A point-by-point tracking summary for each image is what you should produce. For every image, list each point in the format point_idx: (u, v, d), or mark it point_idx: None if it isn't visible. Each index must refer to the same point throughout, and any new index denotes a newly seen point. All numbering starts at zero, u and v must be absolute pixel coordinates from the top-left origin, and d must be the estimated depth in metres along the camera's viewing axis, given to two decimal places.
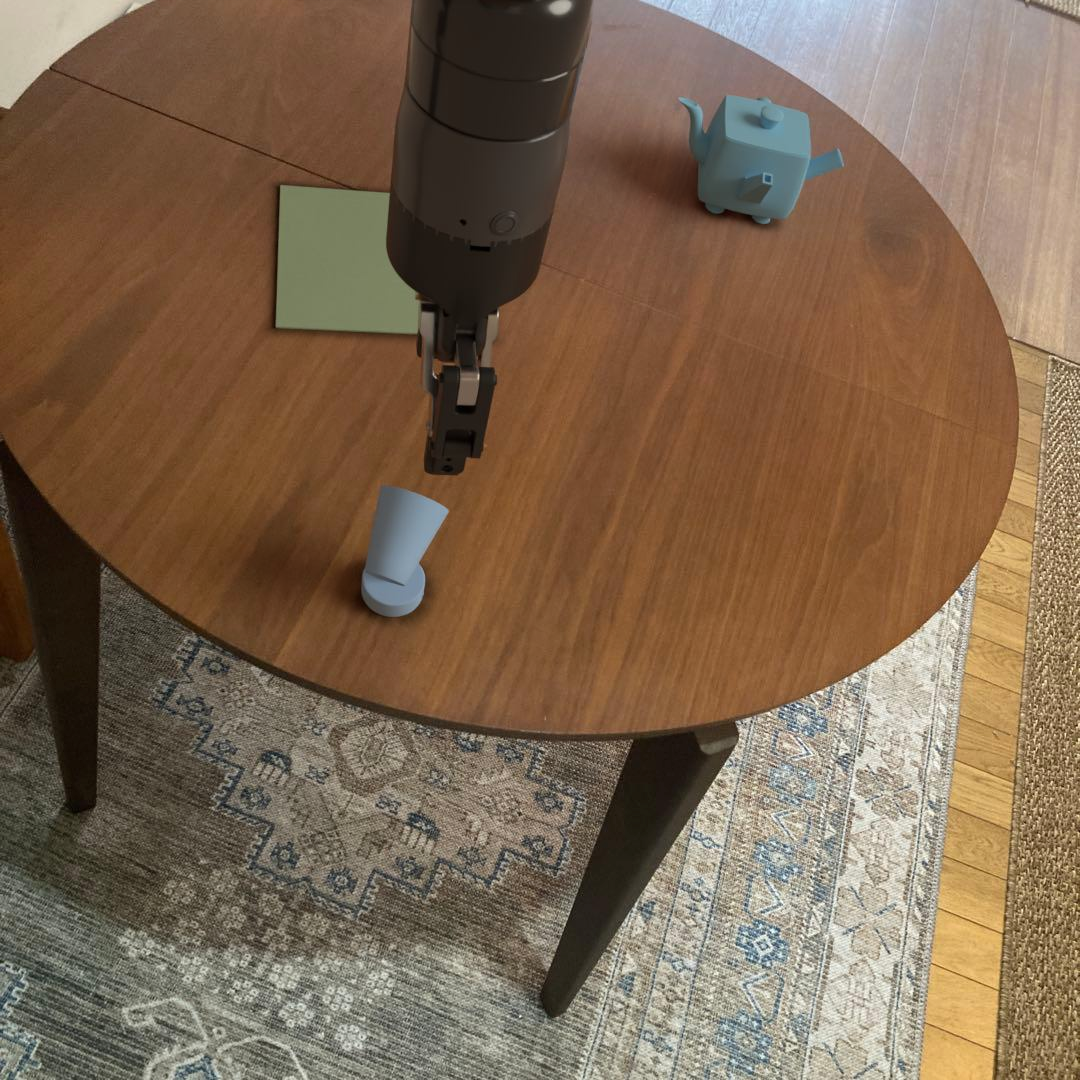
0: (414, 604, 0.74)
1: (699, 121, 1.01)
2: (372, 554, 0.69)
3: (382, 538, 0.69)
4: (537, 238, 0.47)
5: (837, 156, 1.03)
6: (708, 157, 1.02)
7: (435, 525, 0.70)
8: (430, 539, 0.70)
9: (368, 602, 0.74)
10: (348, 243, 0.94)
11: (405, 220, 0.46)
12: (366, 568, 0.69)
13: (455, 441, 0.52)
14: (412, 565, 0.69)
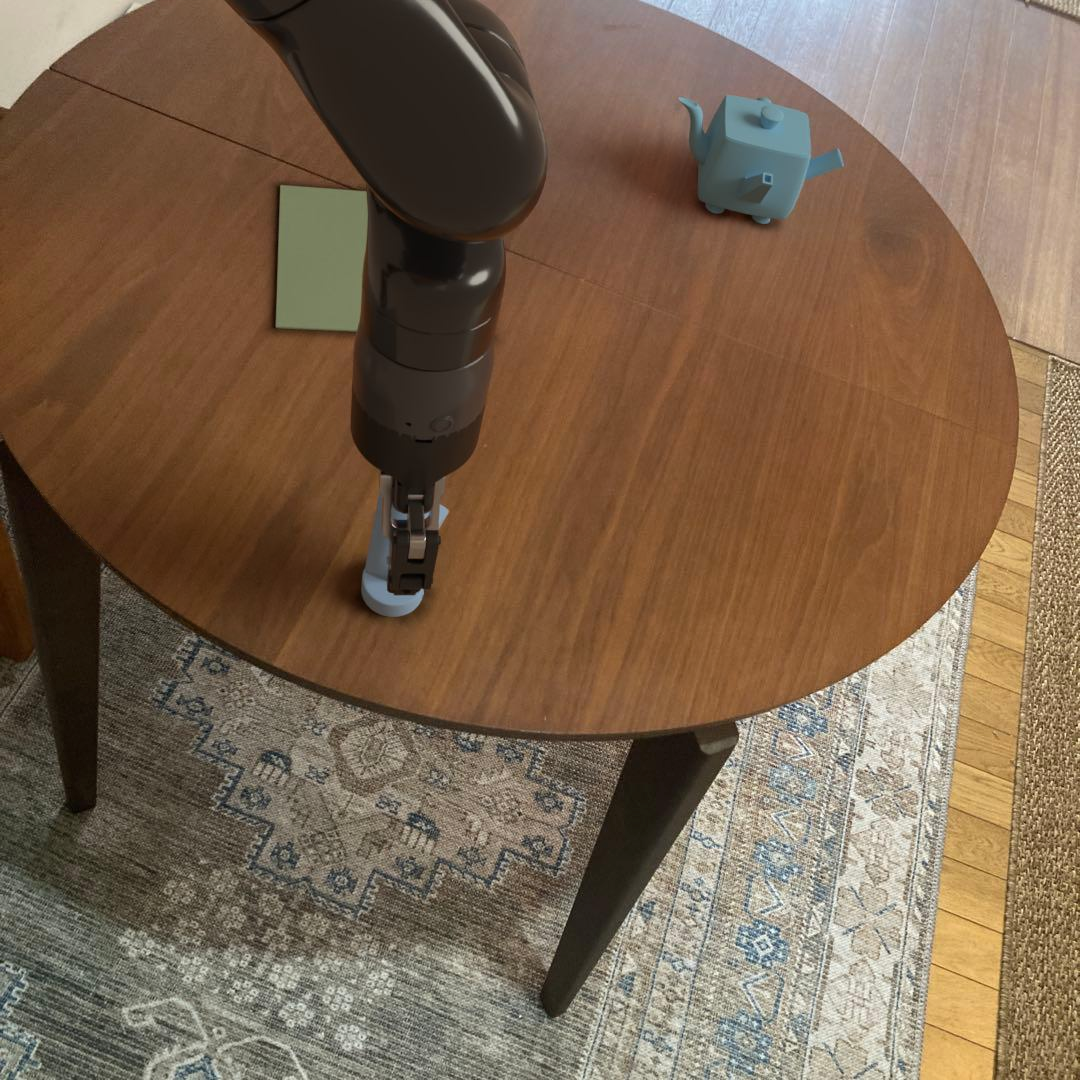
0: (414, 604, 0.74)
1: (699, 121, 1.01)
2: (372, 554, 0.69)
3: (382, 538, 0.69)
4: (471, 428, 0.57)
5: (837, 156, 1.03)
6: (708, 157, 1.02)
7: None
8: None
9: (368, 602, 0.74)
10: (348, 243, 0.94)
11: (363, 417, 0.56)
12: (366, 568, 0.69)
13: (409, 577, 0.63)
14: None
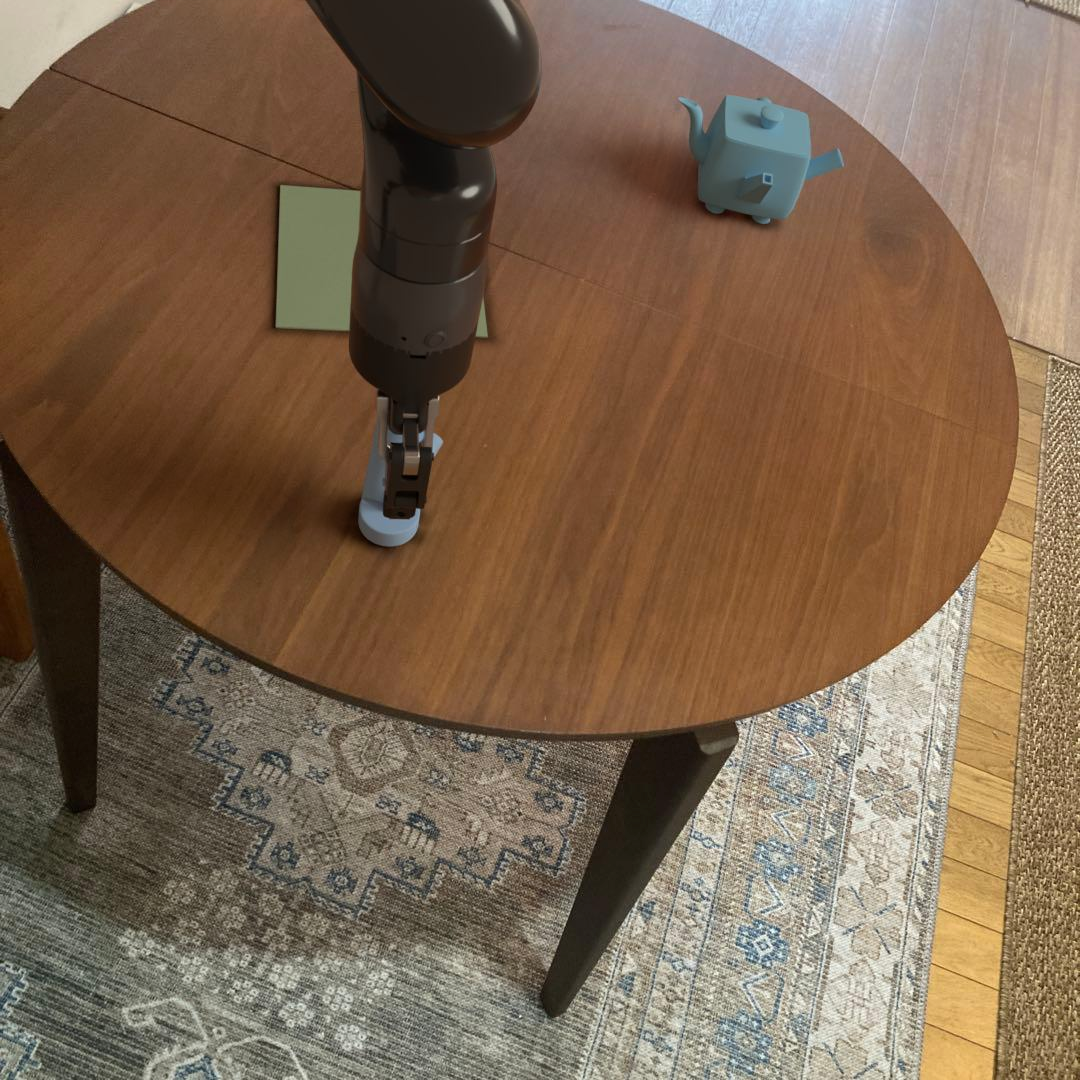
0: (409, 534, 0.77)
1: (699, 121, 1.01)
2: (369, 480, 0.72)
3: (379, 465, 0.71)
4: (464, 346, 0.60)
5: (837, 156, 1.03)
6: (708, 157, 1.02)
7: None
8: None
9: (364, 531, 0.77)
10: (348, 243, 0.94)
11: (361, 334, 0.59)
12: (363, 494, 0.72)
13: (403, 496, 0.66)
14: None
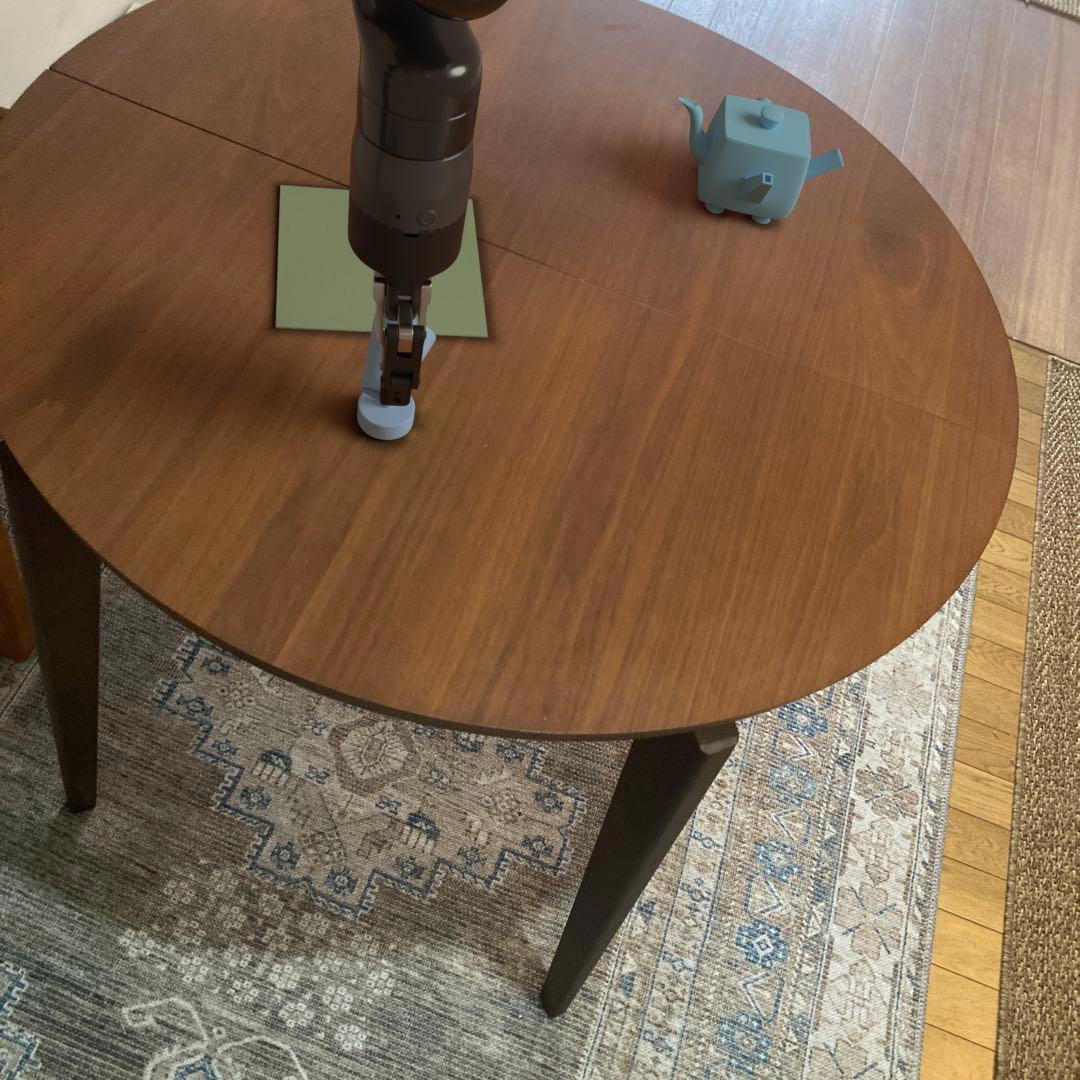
0: (405, 428, 0.82)
1: (699, 121, 1.01)
2: (367, 371, 0.77)
3: (376, 356, 0.77)
4: (453, 228, 0.66)
5: (837, 156, 1.03)
6: (708, 157, 1.02)
7: (423, 347, 0.78)
8: None
9: (363, 425, 0.82)
10: (348, 243, 0.94)
11: (359, 215, 0.65)
12: (361, 384, 0.77)
13: (398, 376, 0.71)
14: None
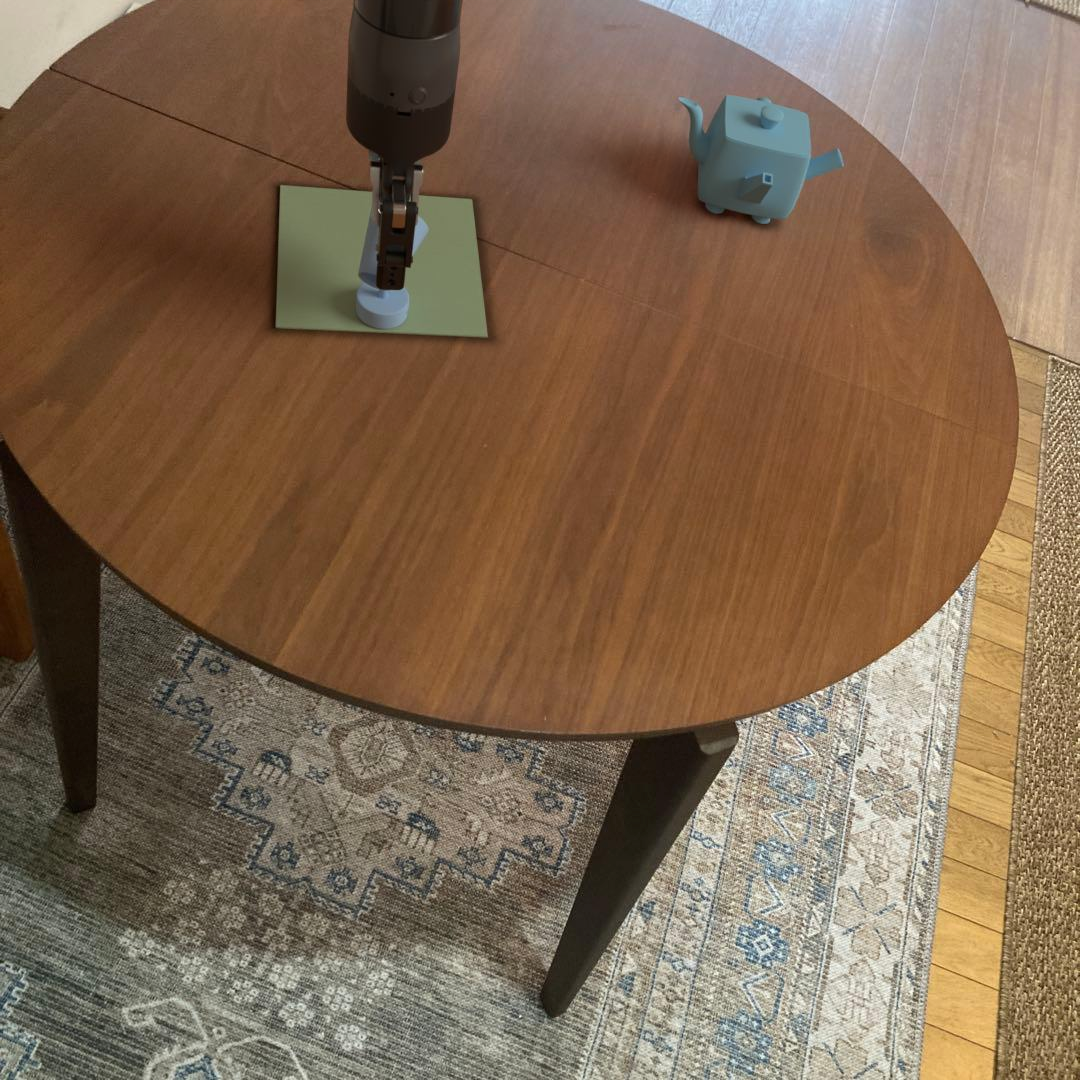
0: (400, 318, 0.89)
1: (699, 121, 1.01)
2: (364, 258, 0.83)
3: (372, 243, 0.83)
4: (442, 110, 0.72)
5: (837, 156, 1.03)
6: (708, 157, 1.02)
7: (417, 237, 0.84)
8: None
9: (361, 315, 0.88)
10: (348, 243, 0.94)
11: (356, 96, 0.71)
12: (359, 270, 0.84)
13: (393, 254, 0.77)
14: None
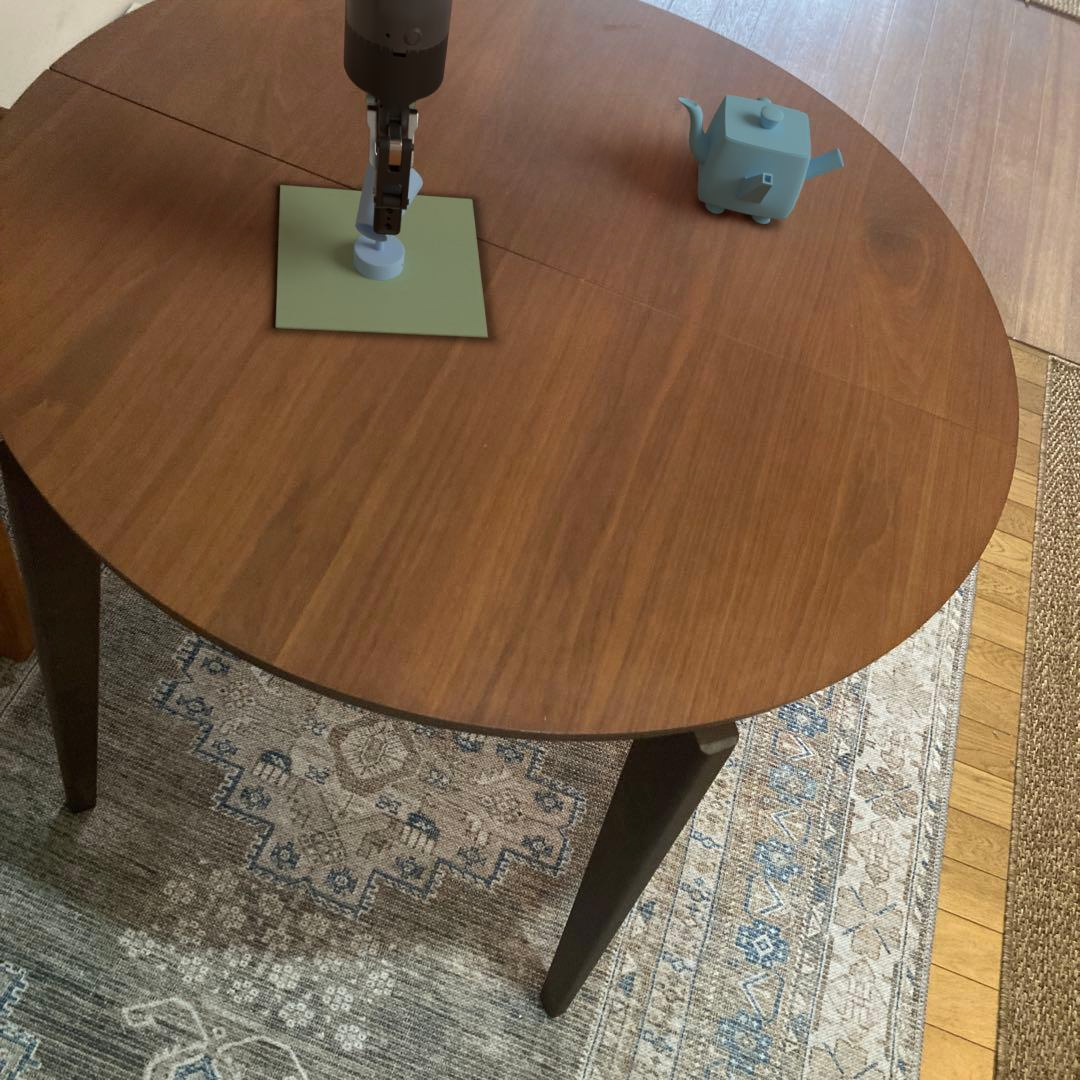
0: (396, 269, 0.92)
1: (699, 121, 1.01)
2: (361, 209, 0.87)
3: (369, 195, 0.86)
4: (436, 52, 0.75)
5: (837, 156, 1.03)
6: (708, 157, 1.02)
7: (411, 189, 0.87)
8: None
9: (358, 267, 0.92)
10: (348, 243, 0.94)
11: (353, 38, 0.74)
12: (356, 221, 0.87)
13: (390, 196, 0.80)
14: None
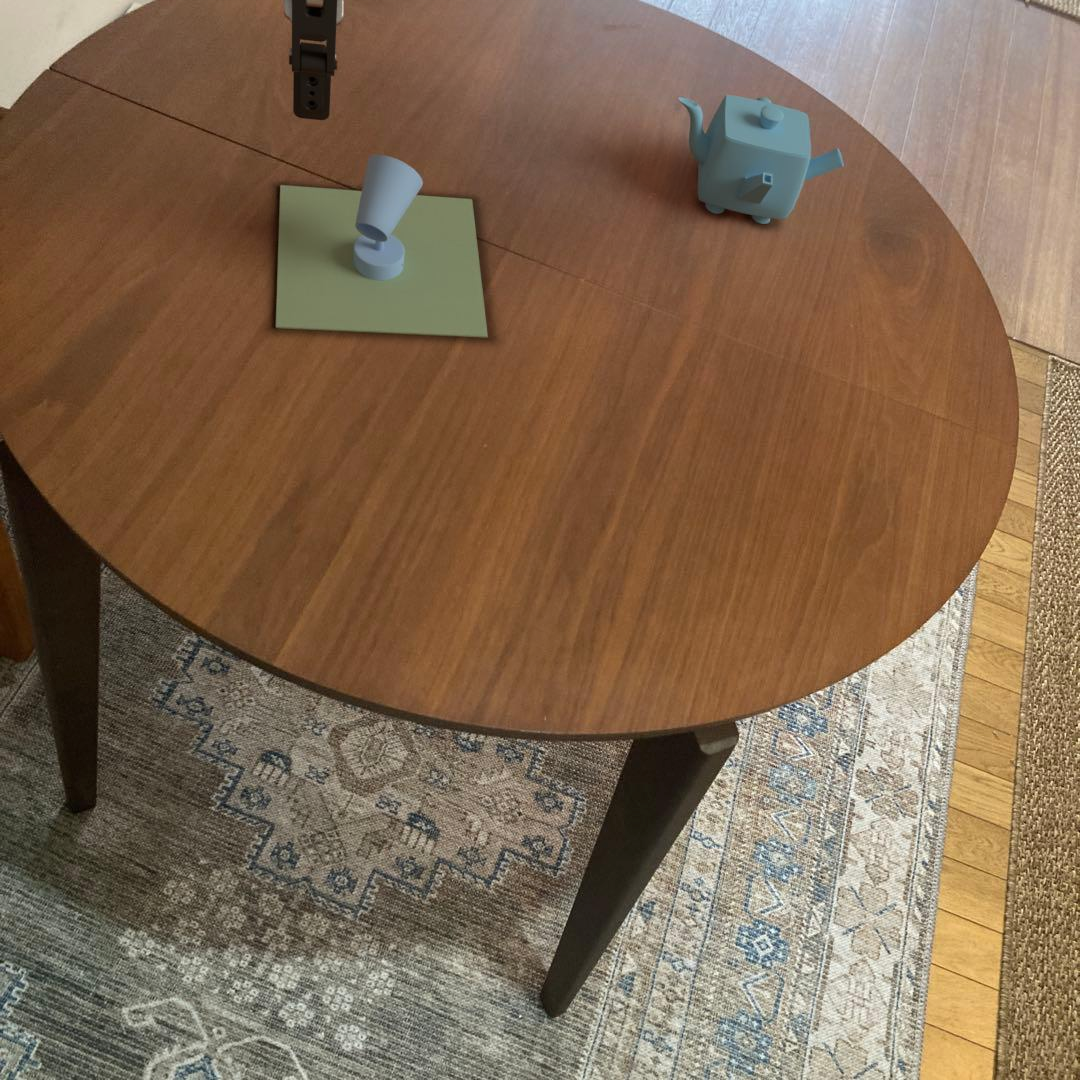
0: (396, 269, 0.92)
1: (699, 121, 1.01)
2: (361, 209, 0.87)
3: (369, 195, 0.86)
4: None
5: (837, 156, 1.03)
6: (708, 157, 1.02)
7: (411, 189, 0.87)
8: (407, 201, 0.88)
9: (358, 267, 0.92)
10: (348, 243, 0.94)
11: None
12: (356, 221, 0.87)
13: (311, 54, 0.59)
14: (393, 219, 0.87)
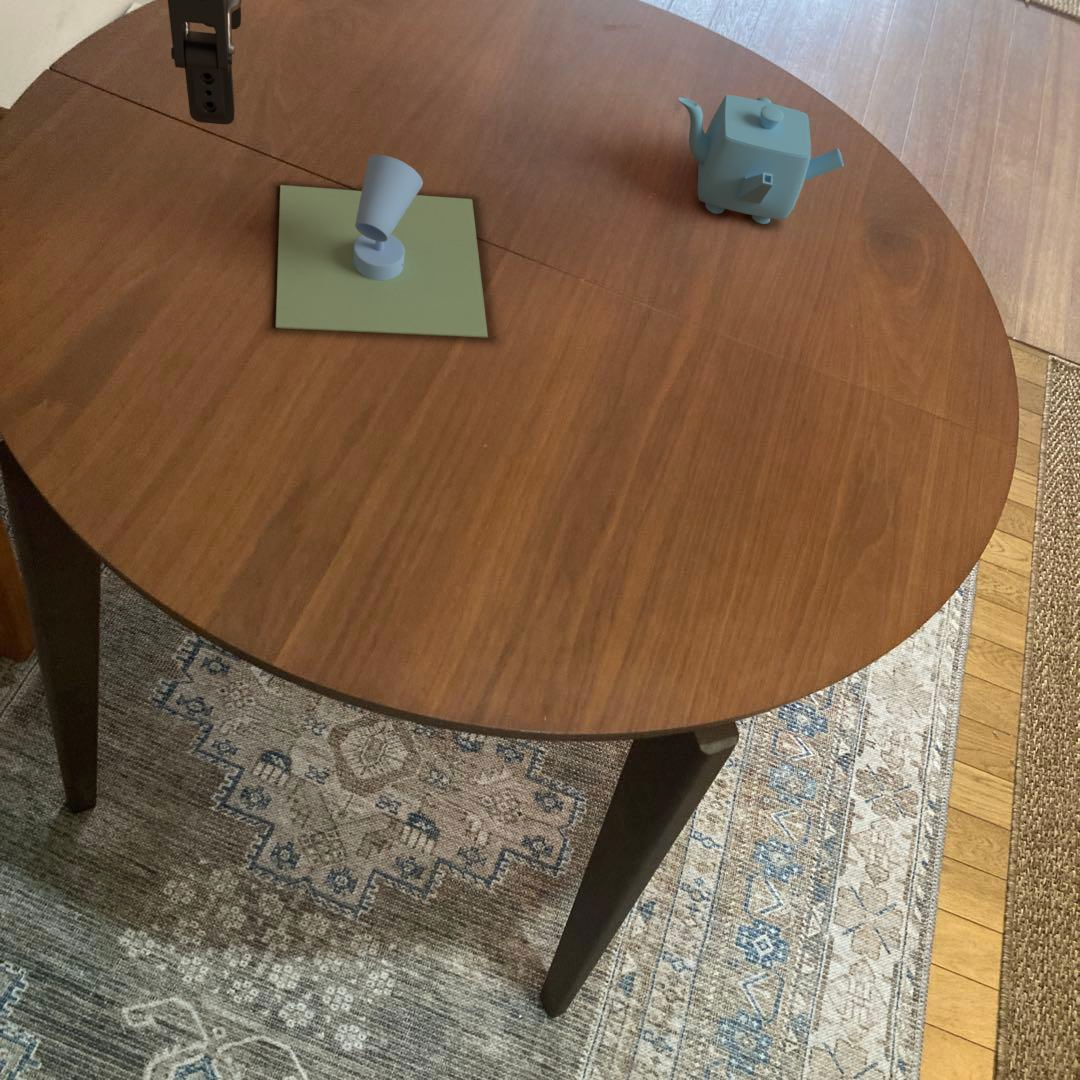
0: (396, 269, 0.92)
1: (699, 121, 1.01)
2: (361, 209, 0.87)
3: (369, 195, 0.86)
4: None
5: (837, 156, 1.03)
6: (708, 157, 1.02)
7: (411, 189, 0.87)
8: (407, 201, 0.88)
9: (358, 267, 0.92)
10: (348, 243, 0.94)
11: None
12: (356, 221, 0.87)
13: (197, 46, 0.48)
14: (393, 219, 0.87)
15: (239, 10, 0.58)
